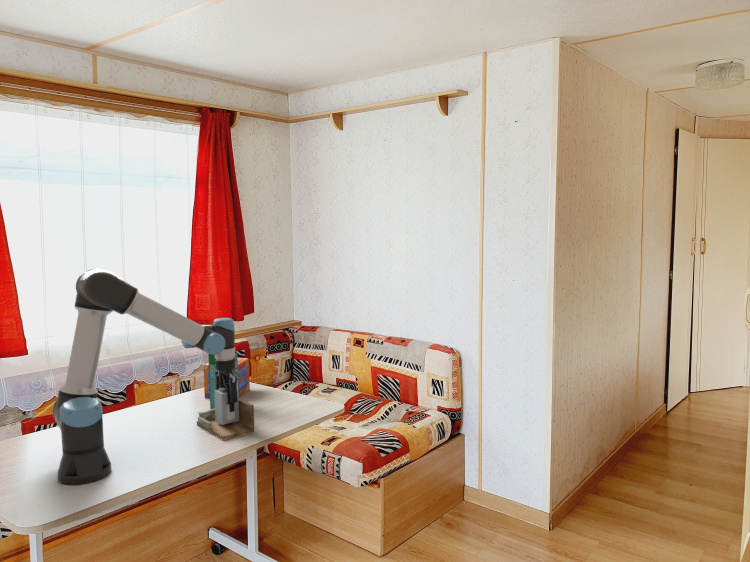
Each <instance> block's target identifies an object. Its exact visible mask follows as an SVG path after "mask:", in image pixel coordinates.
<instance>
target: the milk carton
mask: <svg viewBox="0 0 750 562" xmlns="http://www.w3.org/2000/svg"><path fill="white" fill-rule="evenodd" d="M207 355H208V362H209V385H210V398H209V402H210V403H209V405H210V407H209V408H210V409H215V393H214V391H215V390H216V376H215V372H216V371H219V370H216V368H215V360H216V359H215V355H212V354H208V353H207ZM234 358H235V365H236V367H235V368H234V369H233V370H232V373H233V377H237V390H238V394H239V387H238V358H239V357H238V353H237V352H235V357H234ZM227 384H228V383H227ZM210 409H209V410H210Z"/></svg>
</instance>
